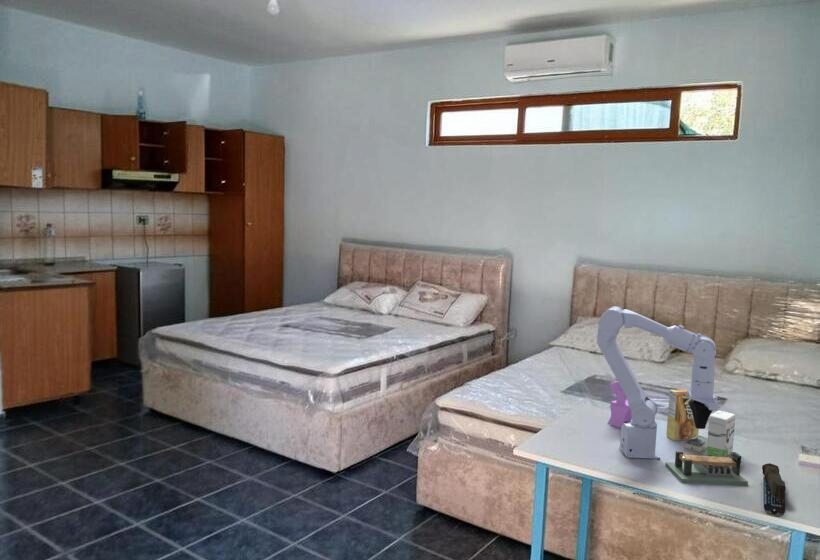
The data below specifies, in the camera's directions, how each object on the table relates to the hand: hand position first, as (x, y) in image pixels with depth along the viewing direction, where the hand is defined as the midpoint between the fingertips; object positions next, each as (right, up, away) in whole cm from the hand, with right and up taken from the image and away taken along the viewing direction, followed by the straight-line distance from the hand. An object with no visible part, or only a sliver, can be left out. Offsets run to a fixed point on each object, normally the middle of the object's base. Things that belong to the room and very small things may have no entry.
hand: (700, 428), depth 169 cm
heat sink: (-1, -10, -7) cm, 12 cm away
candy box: (+5, -9, +22) cm, 24 cm away
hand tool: (+13, -13, -15) cm, 23 cm away
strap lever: (-2, -8, -7) cm, 11 cm away
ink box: (+11, -10, +10) cm, 18 cm away
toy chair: (-10, -7, +34) cm, 36 cm away
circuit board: (-2, -11, -7) cm, 13 cm away
